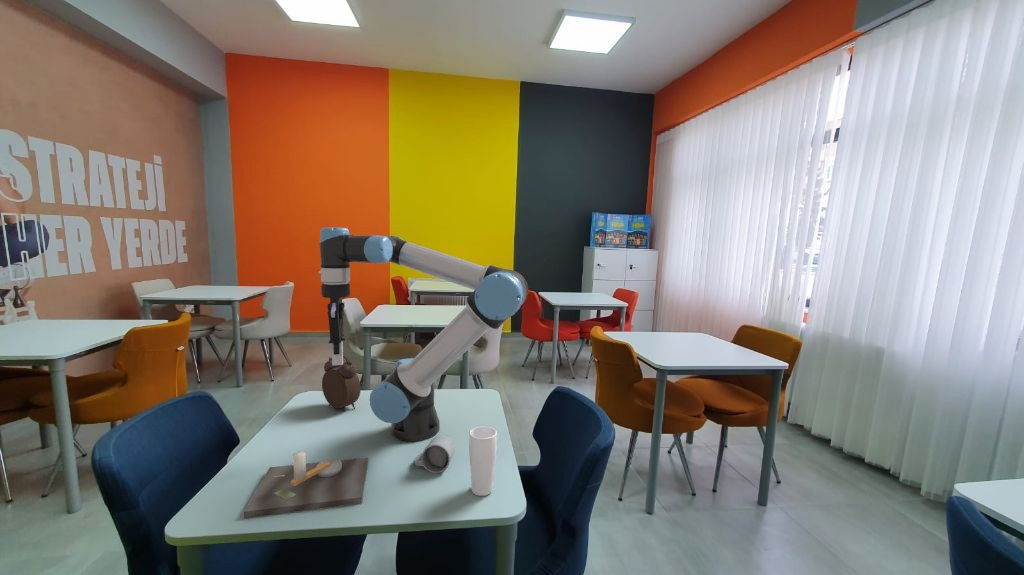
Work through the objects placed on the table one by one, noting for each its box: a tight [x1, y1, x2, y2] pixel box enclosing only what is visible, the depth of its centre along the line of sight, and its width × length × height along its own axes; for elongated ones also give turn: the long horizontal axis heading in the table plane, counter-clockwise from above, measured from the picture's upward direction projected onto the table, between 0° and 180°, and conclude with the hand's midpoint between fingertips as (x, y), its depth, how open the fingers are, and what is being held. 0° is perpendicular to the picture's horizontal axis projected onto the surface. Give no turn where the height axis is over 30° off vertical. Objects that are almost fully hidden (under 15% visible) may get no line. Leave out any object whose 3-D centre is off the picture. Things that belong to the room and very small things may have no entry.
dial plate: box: [243, 456, 369, 519], centre depth 101 cm, size 24×18×2 cm
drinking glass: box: [468, 425, 498, 497], centre depth 101 cm, size 7×7×15 cm
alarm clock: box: [321, 353, 362, 412], centre depth 147 cm, size 14×7×20 cm, turn 59°
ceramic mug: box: [413, 434, 456, 474], centre depth 112 cm, size 11×8×8 cm
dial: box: [291, 450, 342, 486], centre depth 102 cm, size 13×6×8 cm, turn 153°
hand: (337, 364), depth 119 cm, fingers closed
